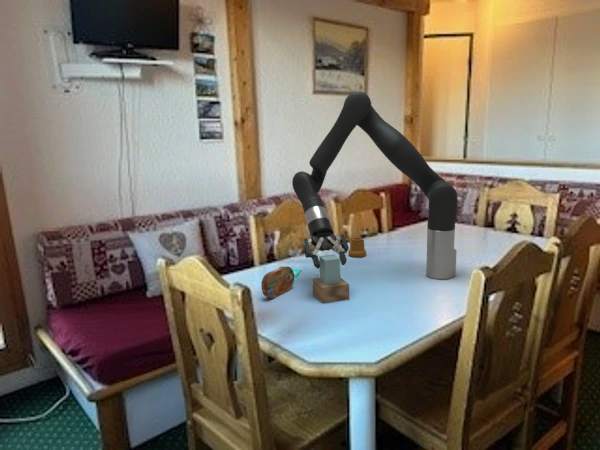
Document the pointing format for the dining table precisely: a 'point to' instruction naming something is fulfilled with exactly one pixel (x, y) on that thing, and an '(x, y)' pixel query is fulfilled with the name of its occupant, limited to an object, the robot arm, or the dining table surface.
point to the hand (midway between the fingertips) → (331, 265)
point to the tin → (277, 282)
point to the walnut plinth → (330, 291)
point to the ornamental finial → (357, 247)
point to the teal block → (329, 269)
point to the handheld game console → (296, 272)
